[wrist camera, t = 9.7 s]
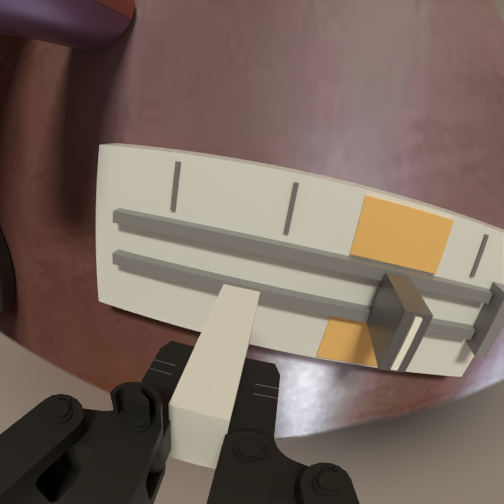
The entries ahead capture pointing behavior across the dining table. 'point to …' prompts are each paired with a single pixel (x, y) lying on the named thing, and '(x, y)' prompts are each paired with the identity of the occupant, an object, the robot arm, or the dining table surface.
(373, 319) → the fader
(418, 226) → the console
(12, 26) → the beverage can
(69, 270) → the dining table surface
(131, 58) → the dining table surface
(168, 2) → the dining table surface
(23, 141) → the dining table surface
